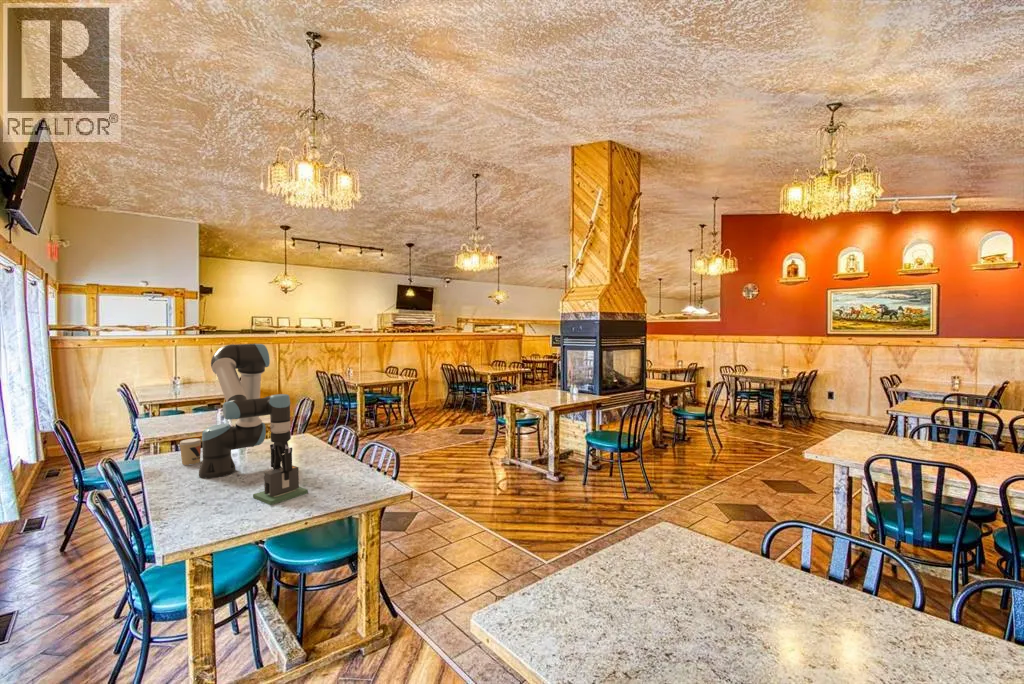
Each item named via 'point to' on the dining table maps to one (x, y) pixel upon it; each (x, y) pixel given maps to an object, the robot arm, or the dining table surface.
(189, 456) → the coffee cup
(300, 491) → the header board
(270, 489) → the plug housing
